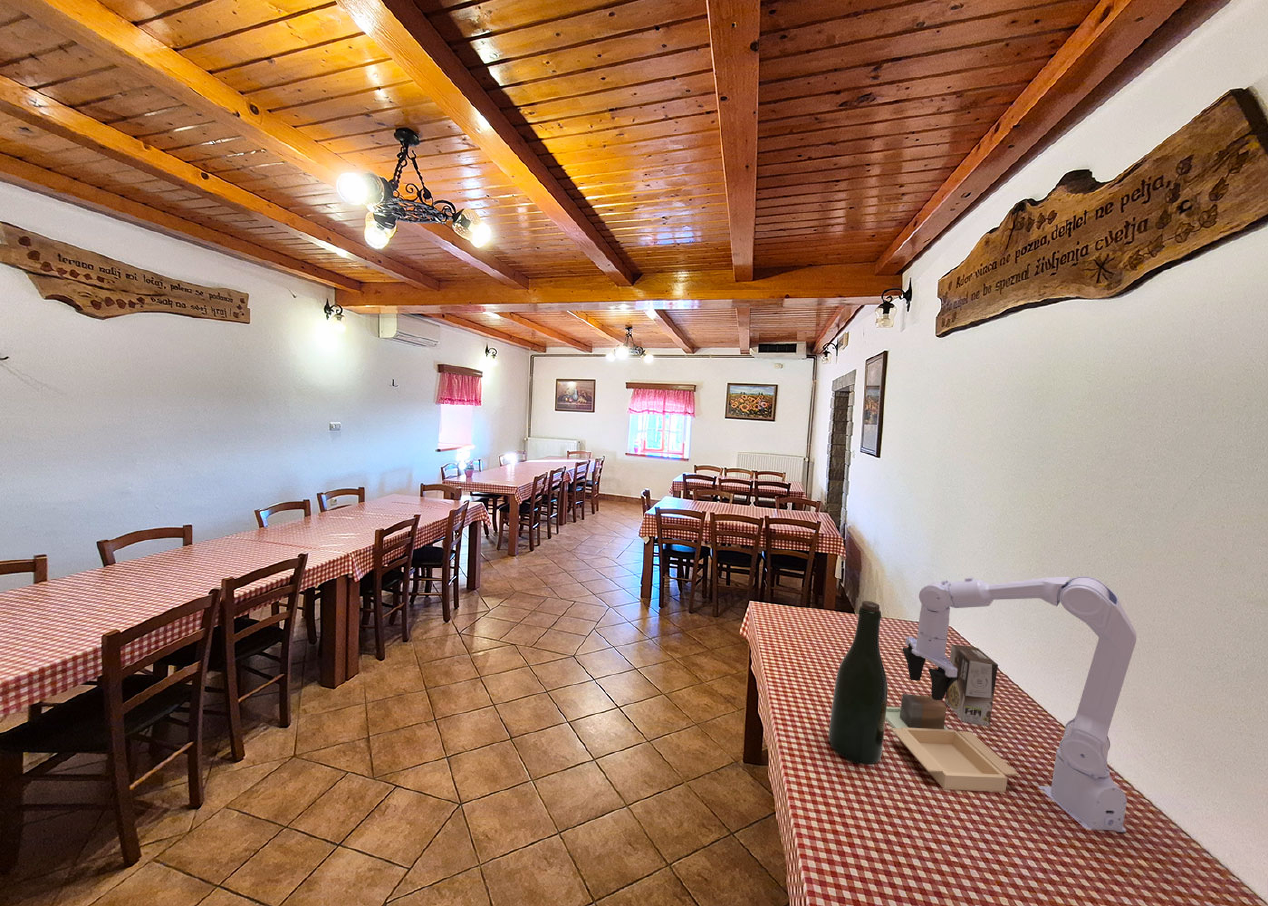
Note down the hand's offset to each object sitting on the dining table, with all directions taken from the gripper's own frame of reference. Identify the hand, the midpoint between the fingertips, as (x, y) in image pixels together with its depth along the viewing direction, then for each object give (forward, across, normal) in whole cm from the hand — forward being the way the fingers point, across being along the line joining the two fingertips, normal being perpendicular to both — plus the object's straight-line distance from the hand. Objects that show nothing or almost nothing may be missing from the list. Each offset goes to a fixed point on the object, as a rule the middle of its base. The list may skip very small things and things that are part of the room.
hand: (925, 689), depth 105 cm
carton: (+10, +12, -2) cm, 16 cm away
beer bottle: (+10, +8, -21) cm, 24 cm away
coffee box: (+10, -6, +16) cm, 20 cm away
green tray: (+10, -1, -1) cm, 10 cm away
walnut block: (+9, -1, 0) cm, 9 cm away
